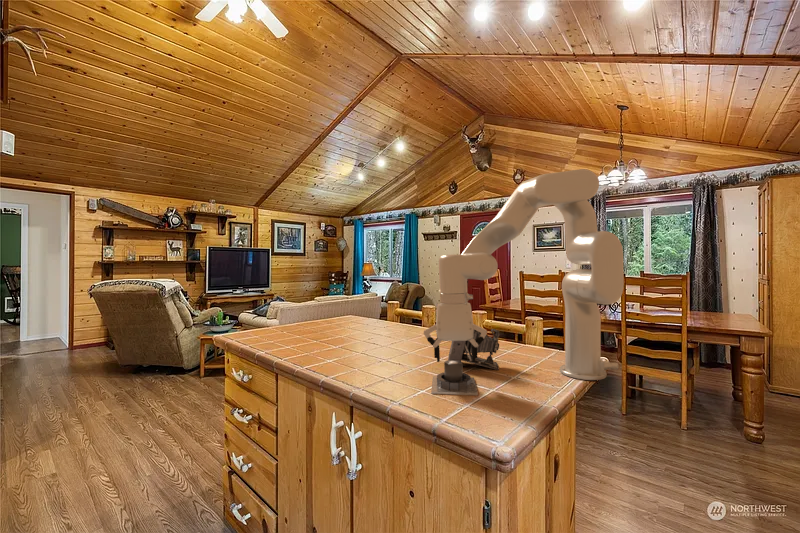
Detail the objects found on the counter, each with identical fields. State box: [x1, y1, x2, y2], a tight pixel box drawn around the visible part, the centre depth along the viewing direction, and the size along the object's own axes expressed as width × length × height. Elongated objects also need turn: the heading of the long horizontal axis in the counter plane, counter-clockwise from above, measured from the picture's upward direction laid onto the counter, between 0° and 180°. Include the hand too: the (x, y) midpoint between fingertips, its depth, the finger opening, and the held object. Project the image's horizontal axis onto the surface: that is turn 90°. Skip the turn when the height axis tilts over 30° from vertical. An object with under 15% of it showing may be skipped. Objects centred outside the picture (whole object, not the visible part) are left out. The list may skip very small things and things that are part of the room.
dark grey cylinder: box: [443, 359, 464, 381], centre depth 99 cm, size 5×5×6 cm
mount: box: [430, 371, 479, 396], centre depth 99 cm, size 12×12×3 cm
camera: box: [447, 328, 500, 371], centre depth 117 cm, size 11×17×20 cm, turn 79°
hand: (455, 360), depth 99 cm, fingers open, 9 cm apart
